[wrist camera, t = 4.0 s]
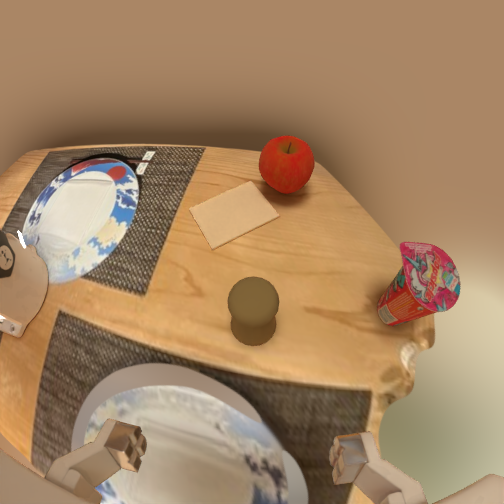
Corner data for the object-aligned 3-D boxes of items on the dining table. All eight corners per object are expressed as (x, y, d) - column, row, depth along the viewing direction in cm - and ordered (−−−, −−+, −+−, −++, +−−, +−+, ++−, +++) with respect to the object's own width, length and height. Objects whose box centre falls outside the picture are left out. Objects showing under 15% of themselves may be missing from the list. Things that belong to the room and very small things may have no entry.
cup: (417, 292, 37) (460, 256, 27) (409, 343, 34) (459, 319, 23) (367, 274, 39) (401, 230, 29) (355, 325, 35) (393, 296, 25)
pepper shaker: (240, 296, 38) (235, 260, 28) (282, 310, 37) (292, 278, 27) (224, 336, 35) (212, 314, 25) (267, 352, 34) (273, 335, 24)
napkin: (212, 250, 41) (212, 249, 41) (189, 209, 45) (188, 208, 45) (279, 217, 44) (279, 215, 44) (251, 182, 48) (251, 180, 48)
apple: (255, 205, 45) (255, 157, 36) (261, 170, 49) (263, 123, 40) (307, 212, 45) (318, 164, 35) (308, 176, 49) (317, 129, 39)
